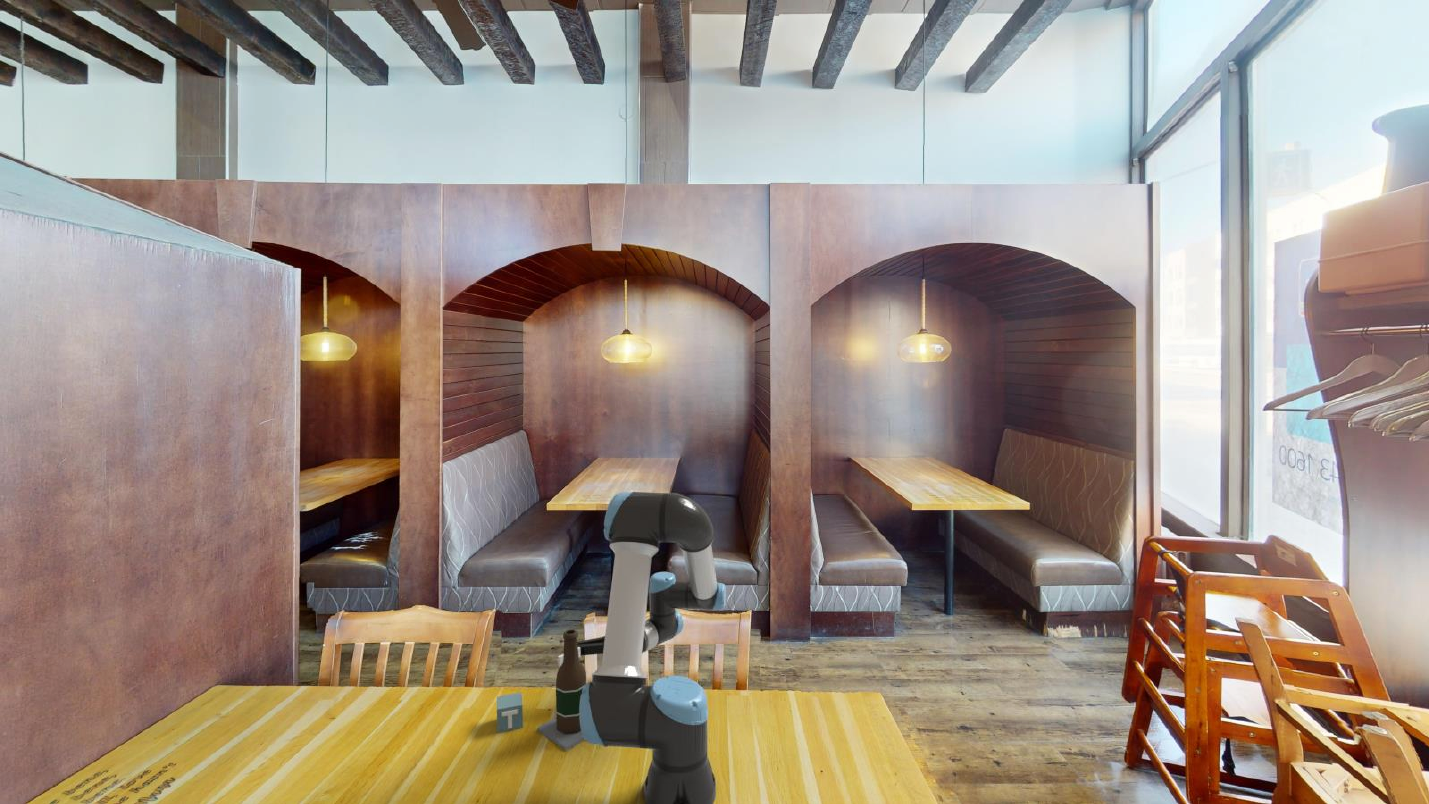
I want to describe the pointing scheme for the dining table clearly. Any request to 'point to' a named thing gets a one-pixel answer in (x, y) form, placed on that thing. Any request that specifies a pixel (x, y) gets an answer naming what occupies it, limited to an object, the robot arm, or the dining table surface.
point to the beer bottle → (569, 686)
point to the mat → (560, 735)
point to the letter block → (509, 712)
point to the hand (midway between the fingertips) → (575, 670)
